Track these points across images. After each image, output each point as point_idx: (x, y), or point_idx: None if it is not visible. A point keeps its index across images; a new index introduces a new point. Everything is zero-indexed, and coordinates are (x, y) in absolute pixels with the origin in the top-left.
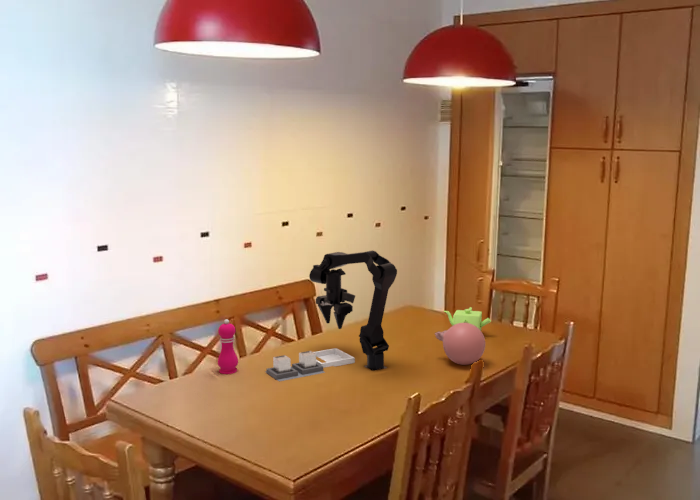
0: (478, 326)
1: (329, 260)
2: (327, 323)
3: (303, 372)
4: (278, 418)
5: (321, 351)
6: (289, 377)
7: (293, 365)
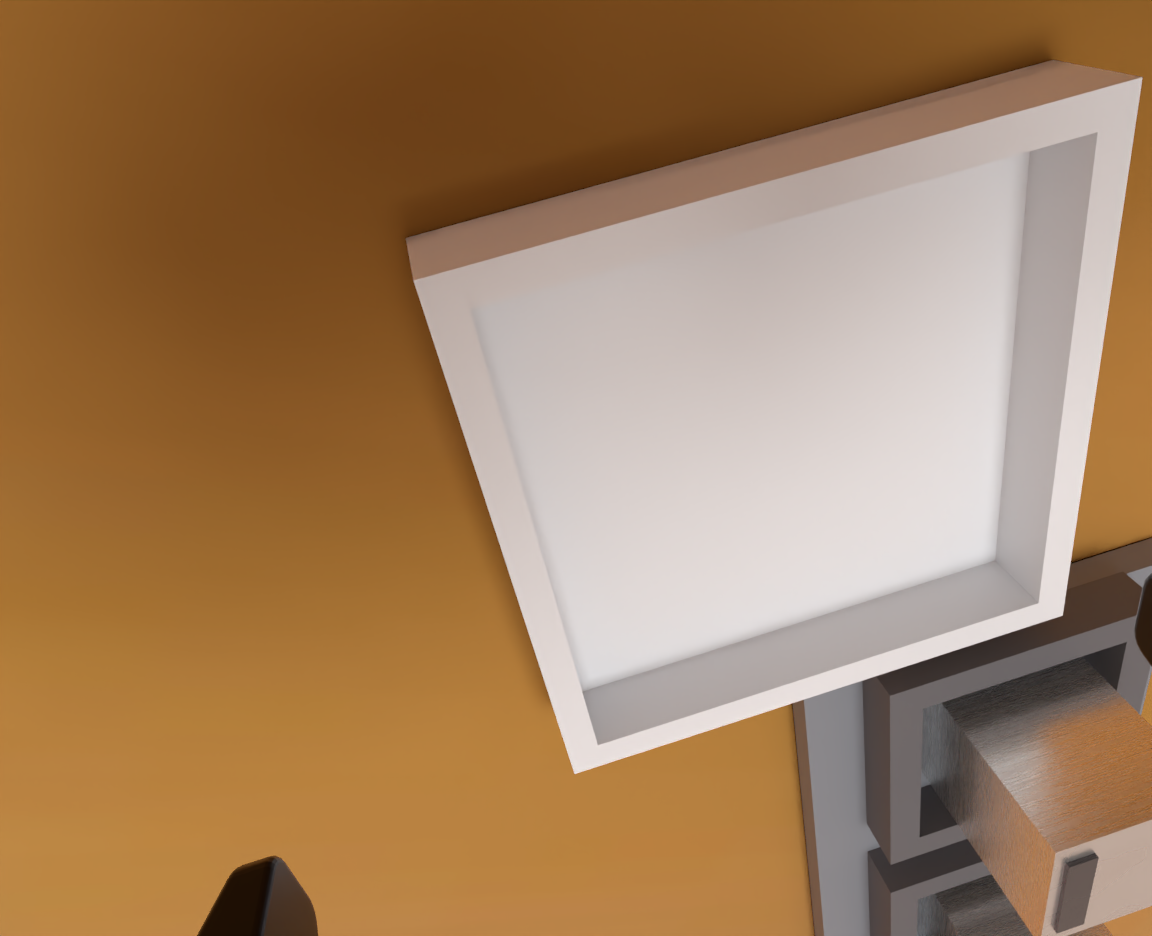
0: None
1: None
2: (311, 903)
3: None
4: None
5: (542, 558)
6: None
7: (921, 846)
